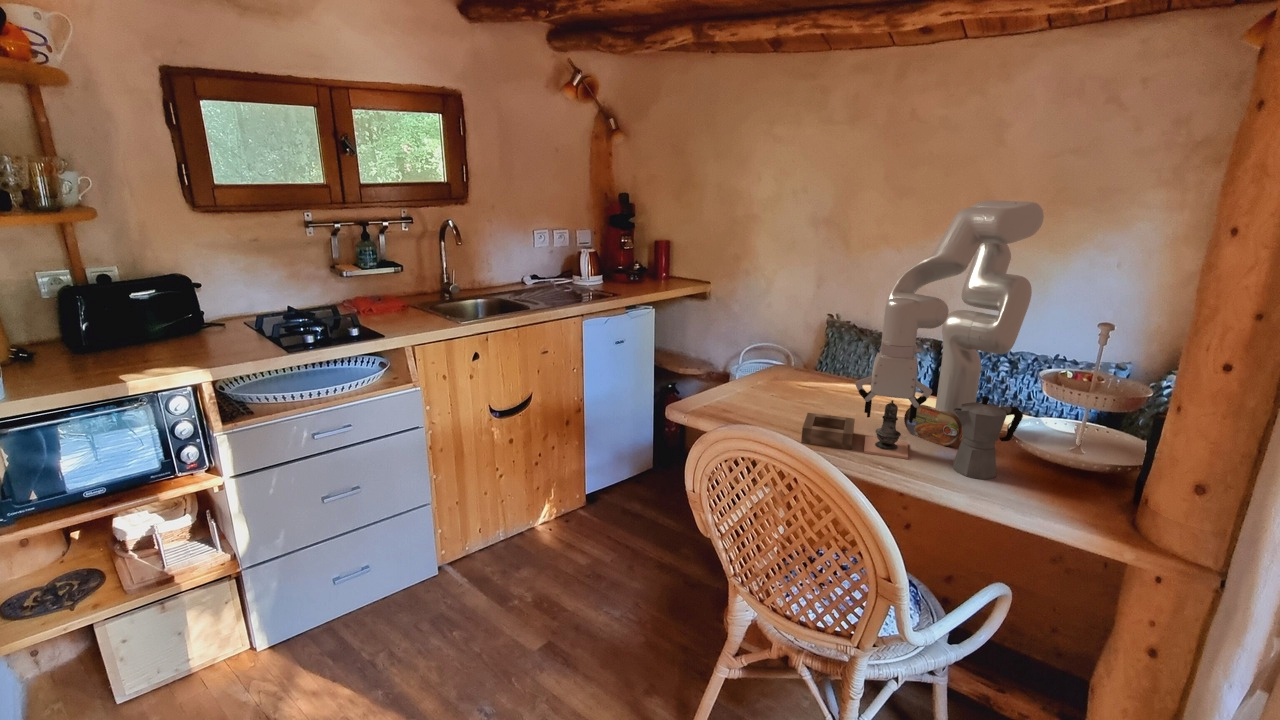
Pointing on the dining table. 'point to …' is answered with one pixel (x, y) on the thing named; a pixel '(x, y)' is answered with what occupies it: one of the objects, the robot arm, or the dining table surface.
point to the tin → (934, 425)
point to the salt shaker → (888, 429)
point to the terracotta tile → (873, 449)
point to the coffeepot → (982, 437)
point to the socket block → (828, 430)
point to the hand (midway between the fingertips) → (889, 418)
